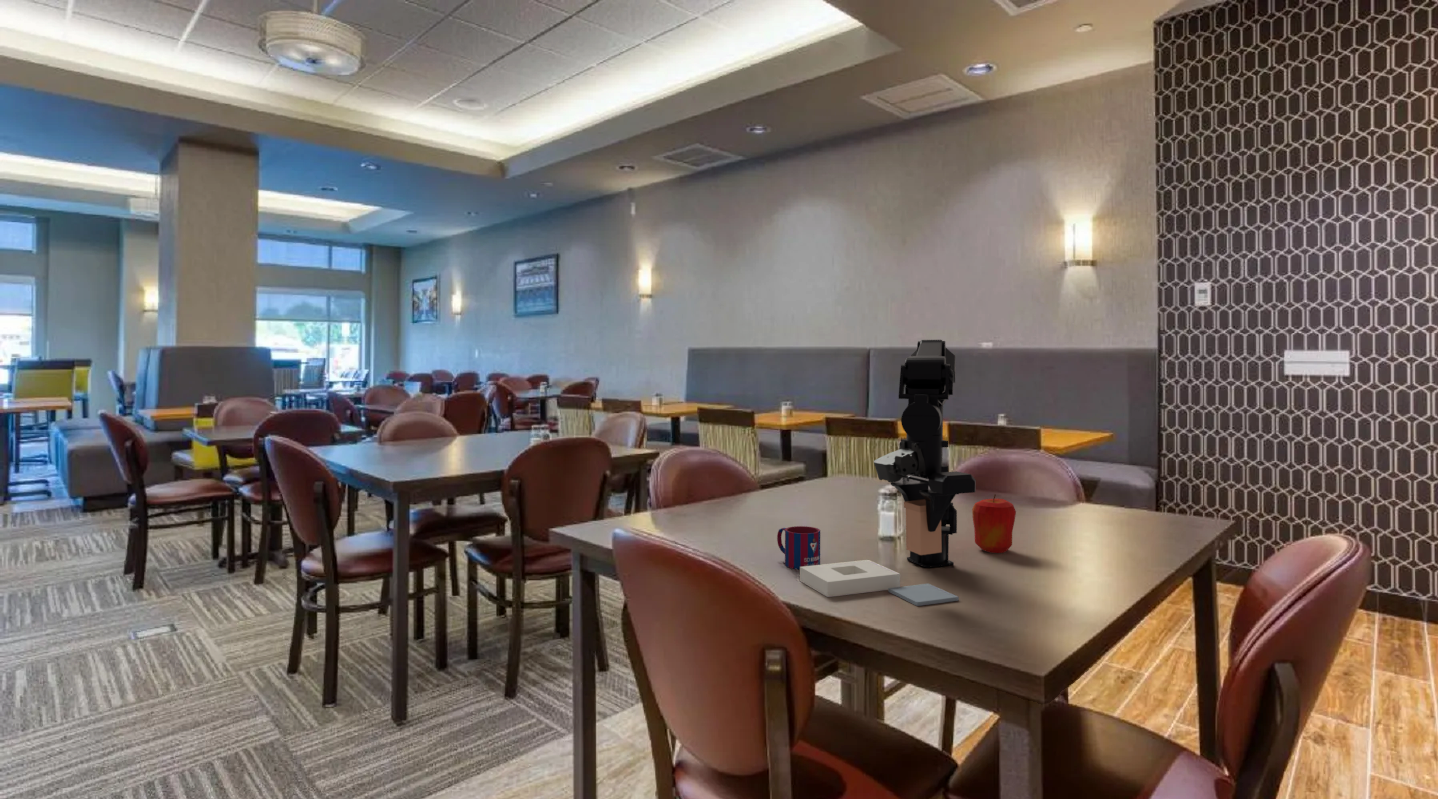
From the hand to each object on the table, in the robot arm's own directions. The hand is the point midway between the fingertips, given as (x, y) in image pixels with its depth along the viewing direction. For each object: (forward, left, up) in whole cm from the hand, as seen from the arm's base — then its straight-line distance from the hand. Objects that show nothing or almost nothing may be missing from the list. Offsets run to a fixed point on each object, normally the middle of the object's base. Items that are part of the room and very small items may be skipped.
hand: (923, 528), depth 122 cm
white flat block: (+8, -10, -11) cm, 17 cm away
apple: (-32, -20, -11) cm, 40 cm away
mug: (+10, -26, -11) cm, 30 cm away
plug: (0, 0, -4) cm, 4 cm away
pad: (0, 0, -11) cm, 11 cm away
